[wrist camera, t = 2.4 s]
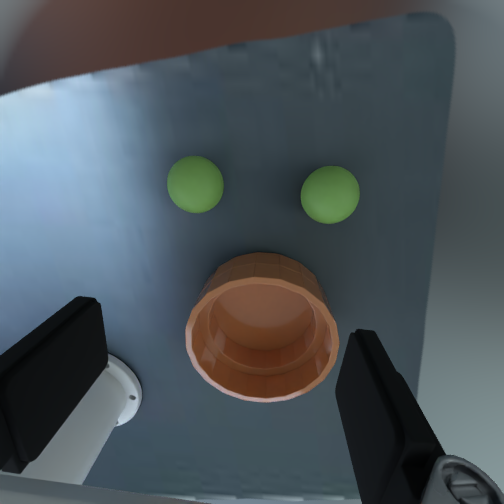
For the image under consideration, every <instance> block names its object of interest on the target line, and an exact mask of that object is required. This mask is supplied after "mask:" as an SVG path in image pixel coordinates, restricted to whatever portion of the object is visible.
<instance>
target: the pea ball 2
mask: <svg viewBox="0 0 504 504" xmlns="http://www.w3.org/2000/svg"><path fill="white" fill-rule="evenodd" d="M359 196H360V190H359V185H358V182H357V180H356V179H355V177H354V176H353V175H352V174H351V173H350V172H349V171H348V170H346V169H344V168H342V167H339V166H325V167H322V168H319V169H317V170H315V171H314V172H313V173H311V174H310V175H309V176H308V178H307V179H306V180H305V182H304V184H303V186H302V190H301V203H302V206H303V208H304V210H305V212H306V213H307V214H308V215H309V216H310V217H311V218H312V219H314V220H315V221H318V222H320V223H325V224H332V223H337V222H340V221H342V220H344V219H346V218H347V217H348V216H350V215H351V214H352V212H353V211H354V210H355V208H356V206H357V204H358V201H359Z"/></svg>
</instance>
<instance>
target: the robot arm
mask: <svg viewBox="0 0 504 504" xmlns="http://www.w3.org/2000/svg"><path fill="white" fill-rule="evenodd" d="M335 394H336V400H337V404H338V408H339V412H340V416H341V420H342V424H343V428H344V432H345V436H346V440H347V444H348V448H349V453H350V457H351V461H352V465H353V469H354V473H355V477H356V481H357V485H358V489H359V493H360V497H361V501H362V504H504V494H503V493H502V491H501V490H500V488H499V487H498V486H497V484H496V483H495V482H494V481H493V480H492V479H491V478H490V477H489V476H488V475H487V474H486V473H485V472H483V471H482V470H481V469H480V468H478V467H477V466H476V465H474V464H473V463H471V462H469V461H467V460H465V459H464V458H461V457H458V456H454V455H446V454H445V452H444V450H443V448H442V446H441V444H440V443H439V441H438V439H437V437H436V435H435V434H434V432H433V430H432V428H431V427H430V425H429V423H428V421H427V420H426V418H425V416H424V414H423V412H422V410H421V409H420V407H419V405H418V403H417V401H416V399H415V398H414V396H413V394H412V392H411V391H410V389H409V387H408V385H407V383H406V382H405V380H404V378H403V377H402V375H401V374H400V373H398V372H397V371H396V369H395V368H394V366H393V364H392V362H391V360H390V358H389V356H388V355H387V353H386V351H385V349H384V347H383V345H382V344H381V342H380V340H379V338H378V336H377V334H376V333H375V331H372V330H363V329H357V330H356V331H355V333H354V332H352V333H351V334H350V336H349V340H348V344H347V347H346V351H345V355H344V358H343V362H342V366H341V369H340V373H339V377H338V380H337V384H336V390H335ZM141 400H142V390H141V386H140V383H139V381H138V379H137V377H136V376H135V374H134V373H133V372H132V371H131V369H130V368H129V367H128V366H127V365H125V364H124V363H123V362H122V361H120V360H119V359H117V358H116V357H114V356H112V355H110V354H108V351H107V344H106V337H105V330H104V323H103V316H102V309H101V304H100V303H99V302H97V300H96V299H95V298H91V297H83V296H78V297H76V298H74V299H73V300H72V301H70V302H69V303H68V304H67V305H65V306H64V307H63V308H61V309H60V310H59V311H57V312H56V313H55V314H54V315H52V316H51V317H50V318H48V319H47V320H46V321H45V322H43V323H42V324H41V325H39V326H38V327H37V328H35V329H34V330H33V331H32V332H30V333H29V334H28V335H26V336H25V337H24V338H22V339H21V340H20V341H19V342H17V343H16V344H15V345H13V346H12V347H11V348H10V349H8V350H7V351H6V352H4V353H3V354H2V355H0V504H209V503H203V502H196V501H189V500H182V499H175V498H168V497H161V496H154V495H147V494H140V493H133V492H126V491H119V490H112V489H105V488H98V487H91V486H84V485H82V483H83V481H84V480H85V478H86V476H87V474H88V472H89V471H90V469H91V467H92V465H93V464H94V462H95V460H96V458H97V456H98V455H99V453H100V451H101V449H102V448H103V446H104V444H105V442H106V440H107V439H108V437H109V435H110V433H111V432H112V430H113V428H114V427H115V426H119V425H122V424H124V423H126V422H128V421H129V420H130V419H131V418H133V416H134V415H135V414H136V412H137V410H138V408H139V406H140V404H141Z"/></svg>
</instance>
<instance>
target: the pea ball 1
mask: <svg viewBox="0 0 504 504" xmlns="http://www.w3.org/2000/svg"><path fill="white" fill-rule="evenodd" d="M167 189H168V192H169V195H170V197H171V199H172V200H173V202H174V203H175V204H176V205H177V206H178V207H180V208H181V209H183V210H185V211H187V212H191V213H203V212H206V211H209V210H210V209H212V208H213V207H215V206H216V205H217V204H218V202H219V201H220V199H221V197H222V194H223V190H224V182H223V178H222V175H221V172H220V171H219V169H218V168H217V166H216V165H215V164H214V163H212V162H211V161H210V160H208V159H206V158H204V157H200V156H188V157H185V158H182V159H180V160H179V161H177V162H176V163H175V164H174V165H173V166H172V168H171V169H170V171H169V174H168V178H167Z"/></svg>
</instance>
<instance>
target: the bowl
mask: <svg viewBox="0 0 504 504" xmlns="http://www.w3.org/2000/svg"><path fill="white" fill-rule="evenodd" d="M185 337H186V350H187V352H188V355H189V357H190V359H191V362H192V364H193V366H194V368H195V369H196V370H197V371H198V372H199V373H200V375H201V376H202V377H203V378H204V379H205V380H206V381H207V382H208V383H209V384H211V385H212V386H214V387H215V388H217V389H218V390H220V391H221V392H223V393H225V394H228V395H231V396H233V397H236V398H239V399H242V400H245V401H255V402H264V403H266V402H267V403H268V402H276V401H283V400H289V399H292V398H294V397H297V396H299V395H302V394H304V393H307V392H309V391H310V390H311V389H313V388H314V387H315V386H317V385H318V384H319V383H320V382H322V381H323V380H324V379H325V378H326V376H327V375H328V373H329V372H330V370H331V369H332V367H333V366H334V364H335V362H336V357H337V353H338V349H339V343H340V342H339V337H338V331H337V325H336V322H335V319H334V316H333V313H332V311H331V308H330V305H329V303H328V300H327V297H326V294H325V292H324V290H323V288H322V286H321V285H320V283H319V281H318V280H317V278H316V276H315V275H314V274H313V273H312V272H311V271H309V270H308V269H307V268H306V267H304V266H303V265H302V264H301V263H300V262H298V261H295V260H293V259H290V258H288V257H285V256H283V255H280V254H275V253H263V252H255V253H250V254H246V255H241V256H237V257H235V258H233V259H231V260H229V261H228V262H226V263H224V264H222V265H221V266H219V267H218V268H217V269H216V270H215V271H214V272H213V274H212V275H211V276H210V277H209V278H208V279H207V281H206V283H205V285H204V287H203V289H202V291H201V293H200V295H199V297H198V299H197V301H196V303H195V305H194V307H193V309H192V312H191V314H190V317H189V320H188V322H187V325H186V328H185Z"/></svg>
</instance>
